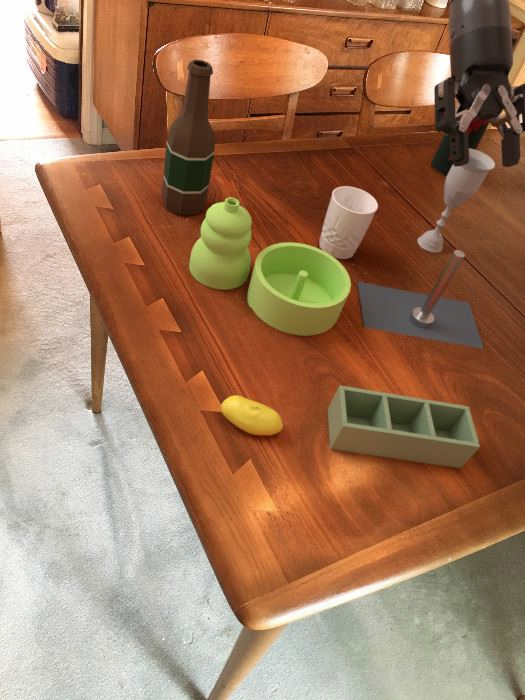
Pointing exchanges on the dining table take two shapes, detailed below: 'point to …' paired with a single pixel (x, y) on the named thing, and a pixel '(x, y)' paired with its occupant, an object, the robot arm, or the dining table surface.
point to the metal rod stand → (436, 292)
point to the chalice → (458, 193)
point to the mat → (397, 305)
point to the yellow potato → (251, 416)
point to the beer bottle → (190, 147)
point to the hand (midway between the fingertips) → (486, 165)
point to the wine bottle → (474, 131)
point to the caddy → (401, 427)
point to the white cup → (346, 221)
